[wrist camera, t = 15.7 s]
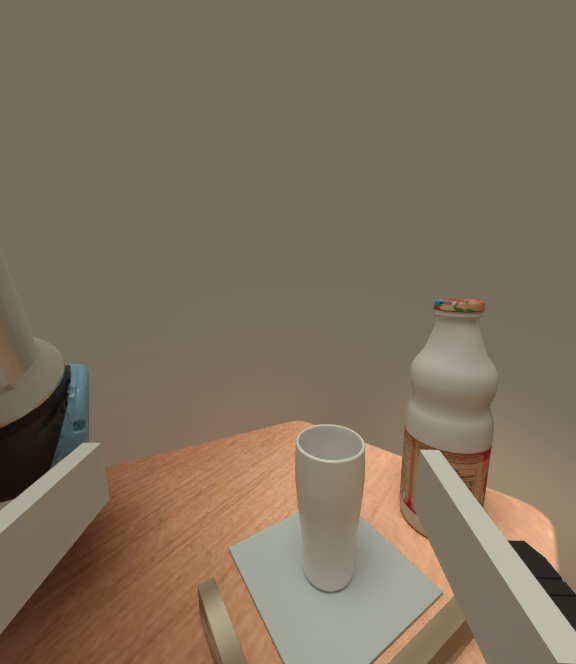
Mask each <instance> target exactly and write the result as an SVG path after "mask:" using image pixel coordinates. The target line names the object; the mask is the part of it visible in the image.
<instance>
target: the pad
mask: <svg viewBox="0 0 576 664" xmlns="http://www.w3.org/2000/svg"><path fill="white" fill-rule="evenodd" d="M229 551H230V553H231V555H232V558H233V560H234V562H235V564H236V566H237V568H238V570H239V572H240V574H241V576H242V578H243V580H244V583H245V585H246V587H247V589H248V591H249V593H250V595H251V597H252V599H253V601H254V603H255V605H256V608H257V610H258V612H259V614H260V616H261V618H262V620H263V622H264V624H265V626H266V628H267V630H268V633H269V635H270V637H271V639H272V641H273V643H274V645H275V647H276V649H277V651H278V653H279V655H280V658H281V660H282V662H283V664H372V663H373V662H374V661H375V660H376V659H377V658H378V657H379V656H380V655H381V654H382V653H383V652H384V651H385V650H386V649H387V648H388V647H389V646H390V645H391V644H392V643H393V642H394V641H395V640H396V639H397V638H398V637H399V636H400V635H401V634H403V633H404V632H405V631H406V630H407V629H408V628H409V627H410V626H411V625H412V624H413V623H414V622H415V621H416V620H417V619H418V618H419V617H420V616H421V615H422V614H423V613H424V612H425V611H426V610H427V609H428V608H429V607H430V606H431V605H432V604H433V603H434V602H435V601H436V600H437V599H438V598H439V597H440V596H441V595H442V594H443V592H442V591H441V590H440V589H439V588H438V587H437V586H436V585H435V584H434V583H433V582H432V581H430V580H429V579H428V578H427V577H426V576H425V575H424V574H423V573H422V572H421V571H420V570H419V569H417V568H416V567H415V566H414V565H413V564H412V563H411V562H410V561H409V560H408V559H407V558H405V557H404V556H403V555H402V554H401V553H400V552H399V551H398V550H397V549H396V548H395V547H394V546H392V545H391V544H390V543H389V542H388V541H387V540H386V539H385V538H384V537H383V536H382V535H380V534H379V533H378V532H377V531H376V530H375V529H374V528H373V527H372V526H371V525H370V524H368V523H367V522H366V521H365V520H364V519H363V518H362V517H361V516H360V518H359V525H358V532H357V539H356V547H355V554H354V570H353V575H352V578H351V580H350V582H349V583H348V584H347V585H346V586H345V587H344V588H342V589H340V590H338V591H332V592H331V591H324V590H321V589H319V588H317V587H315V586H314V585H313V584H312V583H311V582H310V581H309V580H308V578H307V577H306V575H305V572H304V569H303V558H302V540H301V530H300V520H299V512H297V513H295V514H293V515H291V516H289V517H287V518H285V519H283V520H282V521H280V522H278V523H276V524H274V525H272V526H270V527H268V528H266V529H264V530H262V531H260V532H258V533H256V534H254V535H252V536H250V537H248V538H247V539H245V540H243V541H241V542H239V543H237V544H235V545H233V546H231V547H229Z"/></svg>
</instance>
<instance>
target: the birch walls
mask: <svg viewBox="0 0 576 664" xmlns="http://www.w3.org/2000/svg"><path fill="white" fill-rule="evenodd" d="M198 597H199V608H200V617H201V620H202V624H203V627H204V630H205V634H206V637H207V640H208V643H209V647H210V650H211V653H212V657H213V660H214V663H215V664H247V662H246V659H245V657H244V654H243V651H242V649H241V646H240V644H239V641H238V638H237V636H236V633H235V631H234V628H233V626H232V623H231V620H230V618H229V615H228V613H227V610H226V607H225V605H224V602H223V600H222V597H221V595H220V592H219V589H218V587H217V584H216V582H215V579H214V577H212V578H210V579H208V580H207V581H205V582H203V583H201V584H199V585H198ZM473 638H474V636H473V633H472V631H471V629H470V627H469V625H468V623H467V621H466V619H465V616H464V614H463V612H462V610H461V608H460V606H459V604H458V601H457V599H456V597H455V596H454V597H453V598H452V599H451V600H450V601H449V602H448V603H447V604H446V605H445V606H444V607H443V608H442V609H441V610H440V611H439V612H438V613H437V614H436V615H435V616H434V617H433V618H432V619H431V620H430V621H429V622H428V623H427V624H426V625H425V626H424V627H423V628H422V629H421V630H420V631H419V632H418V633H417V635H416V636H415V637H414V638H413V639H412V640H411V641H410V642H409V643H408V644H407V645H406V646H405V647H404V648H403V649H402V650H401V651H400V652H399V653H398V654H397V655H396V656H395V657H394V658H393V659H392V660H391V661H390V662H389V663H388V664H452V663H453V662H454V661H455V660H456V658H457V657H458V656H459V655H460V653H461V652H462V651H463V650H464V649H465V647H466V646H467V645H468V644H469V642H470V641H471V640H472V639H473Z"/></svg>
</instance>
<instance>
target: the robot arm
mask: <svg viewBox="0 0 576 664" xmlns="http://www.w3.org/2000/svg"><path fill="white" fill-rule="evenodd" d="M12 499H14V500H13V501H12V502H10V503H9V504H8V505H7V506H5V507H4V508H3V509H2V510H1V511H0V634H1V633H2V632H3V630H4V629H5V628H6V627H7V625H8V624H9V623H10V622H11V621H12V619H13V618H14V617H15V616H16V614H17V613H18V612H19V611H20V609H21V608H22V607H23V606H24V604H25V603H26V602H27V601H28V600H29V598H30V597H31V596H32V595H33V593H34V592H35V591H36V590H37V588H38V587H39V586H40V585H41V583H42V582H43V581H44V580H45V579H46V577H47V576H48V575H49V574H50V572H51V571H52V570H53V569H54V567H55V566H56V565H57V564H58V563H59V561H60V560H61V559H62V558H63V556H64V555H65V554H66V553H67V551H68V550H69V549H70V548H71V546H72V545H73V544H74V543H75V542H76V540H77V539H78V538H79V537H80V535H81V534H82V533H83V532H84V530H85V529H86V528H87V527H88V525H89V524H90V523H91V522H92V521H93V519H94V518H95V517H96V516H97V514H98V513H99V512H100V511H101V509H102V508H103V507H104V506H105V504H106V503H107V502H108V501H109V500H110V499H109V492H108V486H107V479H106V473H105V466H104V461H103V453H102V447H101V443H89V375H88V369H87V367H86V366H84V365H76V364H74V363H72V364H68V365H66V366H65V364H64V361H63V358H62V356H61V353H60V352H59V351H58V350H57V348H55V347H54V346H53V345H51V344H50V343H48V342H46V341H44V340H41V339H38V338H34V337H33V336H32V334H31V331H30V328H29V325H28V322H27V319H26V317H25V314H24V311H23V308H22V305H21V303H20V300H19V297H18V294H17V291H16V289H15V286H14V283H13V280H12V277H11V274H10V272H9V269H8V266H7V263H6V260H5V258H4V255H3V252H2V249H1V247H0V503H1V502H5V501H9V500H12ZM414 510H415V512H416V514H417V516H418V518H419V520H420V523H421V525H422V527H423V529H424V531H425V533H426V535H427V537H428V540H429V542H430V544H431V546H432V548H433V550H434V552H435V555H436V557H437V559H438V561H439V563H440V565H441V567H442V569H443V572H444V574H445V576H446V578H447V580H448V582H449V584H450V587H451V589H452V591H453V593H454V595H455V597H456V599H457V601H458V604H459V606H460V608H461V610H462V612H463V614H464V616H465V619H466V621H467V623H468V625H469V627H470V629H471V631H472V633H473V636H474V638H475V640H476V642H477V644H478V646H479V648H480V651H481V653H482V655H483V657H484V659H485V661H486V663H487V664H576V594H575V593H574V592H573V591H572V590H571V588H570V587H569V586H568V585H567V583H566V582H563V581H562V577H561V576H560V575H559V574H558V573H557V571H556V570H555V569H554V568H553V567H552V566H551V564H550V563H549V562H548V561H547V560H546V558H545V557H543V556H542V555H541V554H540V553H538V552H537V551H536V550H535V549H533V548H532V547H531V546H530V545H528V544H527V543H526V542H525V541H507V540H506V538H505V537H504V536H503V534H502V533H501V532H500V530H499V529H498V528H497V526H496V525H495V524H494V522H493V521H492V520H491V518H490V517H489V516H488V514H487V513H486V512H485V510H484V509H483V508H482V506H481V505H480V504H479V502H478V501H477V500H476V498H475V497H474V496H473V494H472V493H471V492H470V490H469V489H468V488H467V486H466V485H465V484H464V482H463V481H462V480H461V478H460V477H459V476H458V474H457V473H456V472H455V470H454V469H453V468H452V466H451V465H450V464H449V462H448V461H447V460H446V458H445V457H444V456H443V455H442V453H441V452H440V451H439V450H420V452H419V461H418V471H417V480H416V490H415V499H414Z"/></svg>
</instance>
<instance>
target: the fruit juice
mask: <svg viewBox="0 0 576 664" xmlns="http://www.w3.org/2000/svg"><path fill="white" fill-rule="evenodd" d="M484 311H485V304H484V301H480V300H470V299H438V300H436V301H435V305H434V313H435V315H436V322H435V325H434V328H433V330H432V332H431V335H430V337H429V339H428V341H427V343H426V345H425V347H424V348H423V349H422V351H421V352H420V353H419V354H418V355H417V356H416V357H415V358H414V360H413V362H412V364H411V368H410V382H411V386H412V397H411V398H410V400H409V402H408V405H407V409H406V416H405V430H404V443H403V457H402V471H401V485H400V507H401V511H402V513H403V515H404V517H405V519H406V520H407V521H408V523H409V524H410V525H411V526H412V527H413V528H414V529H415V530H417V531H418V532H419V533H421V534H422V535H424V536H426V537H427V535H426V533H425V531H424V529H423V527H422V525H421V523H420V520H419V518H418V516H417V514H416V512H415V510H414V499H415V490H416V480H417V471H418V461H419V452H420V450H439V451H440V452H441V453H442V455H443V456H444V457H445V458H446V460H447V461H448V462H449V464H450V465H451V466H452V468H453V469H454V470H455V472H456V473H457V474H458V476H459V477H460V478H461V480H462V481H463V482H464V484H465V485H466V486H467V488H468V489H469V490H470V492H471V493H472V494H473V496H474V497H475V498H476V500H477V501H478V502H479V504H480V505H481V506H482V508H483V505H484V498H485V491H486V483H487V475H488V468H489V460H490V454H491V447H492V441H493V427H494V423H493V417H492V414H491V411H490V405H491V402H492V401H493V399H494V397H495V395H496V392H497V389H498V380H499V379H498V373H497V370H496V368H495V366H494V364H493V363H492V361H491V360H490V358H489V357H488V355H487V353H486V350H485V347H484V343H483V339H482V335H481V330H480V325H479V324H480V318H481V317H482V316H483V313H484Z"/></svg>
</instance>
